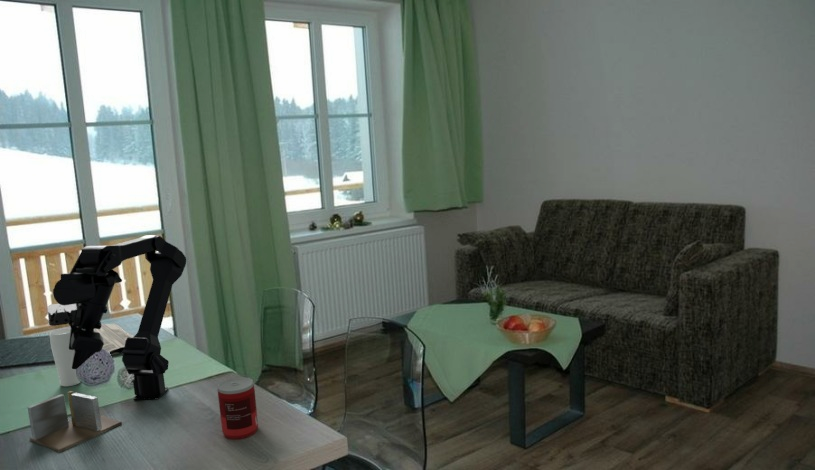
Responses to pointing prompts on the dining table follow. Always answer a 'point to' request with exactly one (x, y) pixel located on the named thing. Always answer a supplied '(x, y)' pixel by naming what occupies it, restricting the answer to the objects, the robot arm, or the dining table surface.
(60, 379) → the white tapered cylinder
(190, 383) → the dining table surface
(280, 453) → the dining table surface
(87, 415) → the swinging leaf
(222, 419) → the canned food
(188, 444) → the dining table surface
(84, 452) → the dining table surface
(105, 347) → the newspaper
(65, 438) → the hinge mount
